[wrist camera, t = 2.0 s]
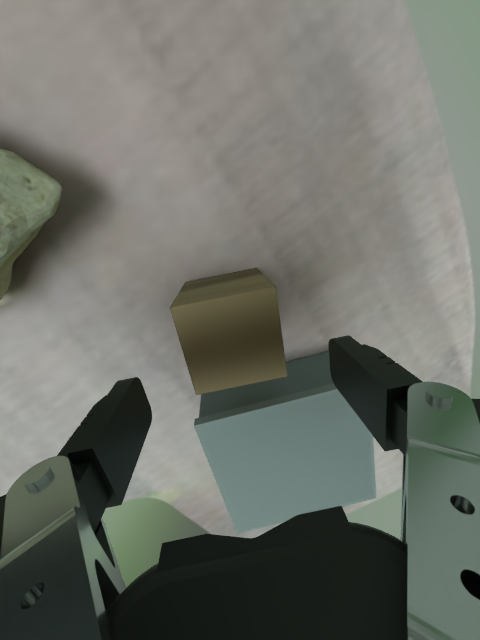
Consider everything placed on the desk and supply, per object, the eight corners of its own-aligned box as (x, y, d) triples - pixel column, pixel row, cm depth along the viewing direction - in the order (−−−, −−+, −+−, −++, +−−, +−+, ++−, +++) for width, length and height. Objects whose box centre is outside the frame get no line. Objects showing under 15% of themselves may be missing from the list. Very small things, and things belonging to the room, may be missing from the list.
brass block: (185, 281, 17) (169, 307, 11) (256, 267, 17) (275, 286, 11) (202, 345, 19) (196, 395, 13) (266, 332, 19) (287, 376, 13)
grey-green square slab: (199, 380, 20) (194, 425, 15) (334, 345, 20) (370, 380, 15) (233, 474, 24) (237, 533, 19) (345, 445, 24) (376, 497, 19)
